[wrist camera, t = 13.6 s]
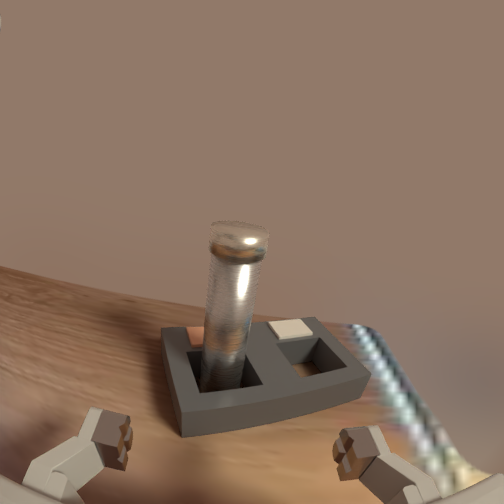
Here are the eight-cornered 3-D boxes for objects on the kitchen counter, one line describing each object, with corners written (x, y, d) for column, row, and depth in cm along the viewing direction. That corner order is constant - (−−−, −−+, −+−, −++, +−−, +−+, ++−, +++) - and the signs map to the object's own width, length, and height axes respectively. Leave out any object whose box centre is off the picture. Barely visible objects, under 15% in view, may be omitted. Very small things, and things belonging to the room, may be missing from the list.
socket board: (181, 437, 18) (181, 409, 17) (161, 353, 27) (161, 324, 26) (360, 397, 25) (372, 371, 24) (308, 339, 33) (315, 314, 32)
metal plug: (202, 412, 21) (220, 236, 17) (192, 382, 24) (205, 219, 20) (246, 406, 23) (279, 238, 18) (232, 378, 26) (256, 222, 21)
